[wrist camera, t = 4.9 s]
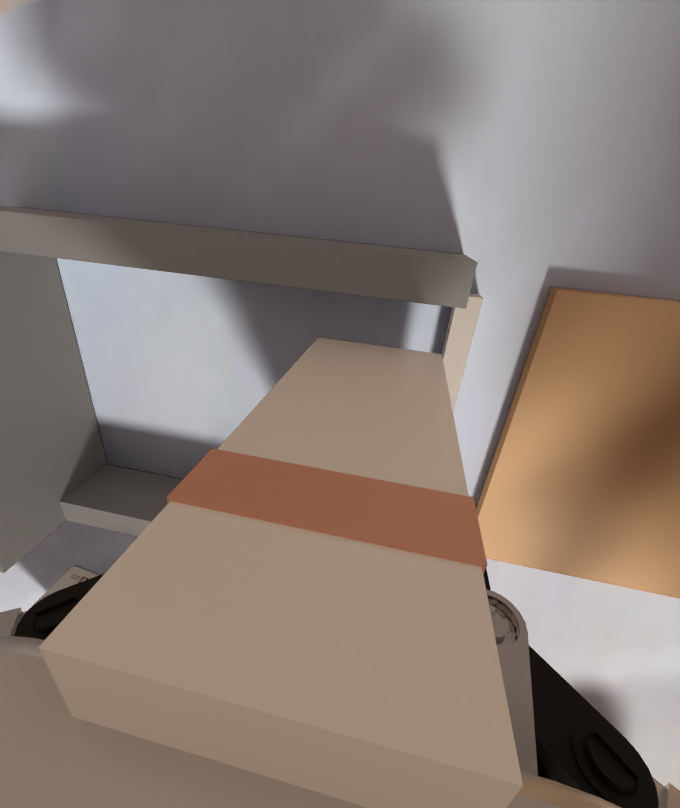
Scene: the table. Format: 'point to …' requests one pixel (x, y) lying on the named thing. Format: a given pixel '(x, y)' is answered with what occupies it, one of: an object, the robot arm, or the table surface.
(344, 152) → the table surface
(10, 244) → the frame
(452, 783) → the taped cardboard box
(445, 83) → the table surface
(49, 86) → the table surface
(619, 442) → the cork mat
